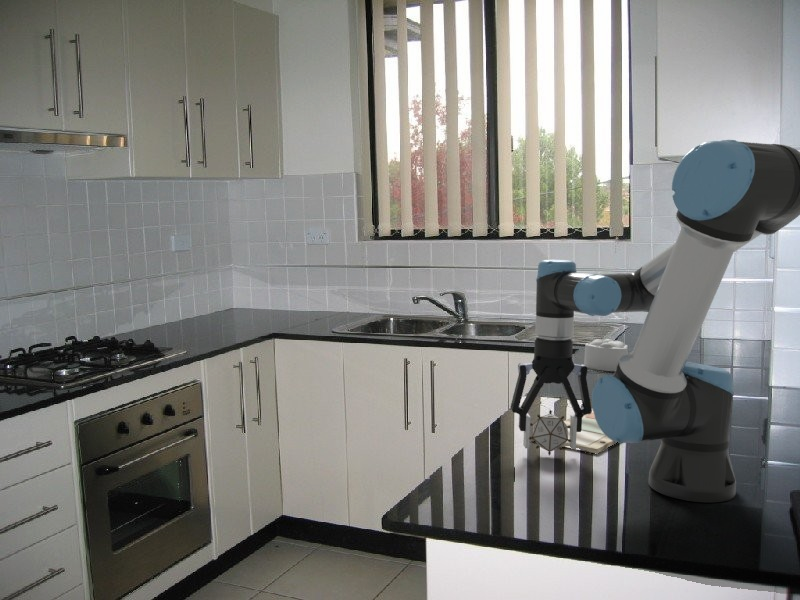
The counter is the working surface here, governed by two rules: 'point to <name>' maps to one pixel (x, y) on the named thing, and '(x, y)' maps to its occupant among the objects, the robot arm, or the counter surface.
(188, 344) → the counter surface
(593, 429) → the board
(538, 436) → the game die
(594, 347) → the lumpy-topped squat cylinder
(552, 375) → the robot arm
